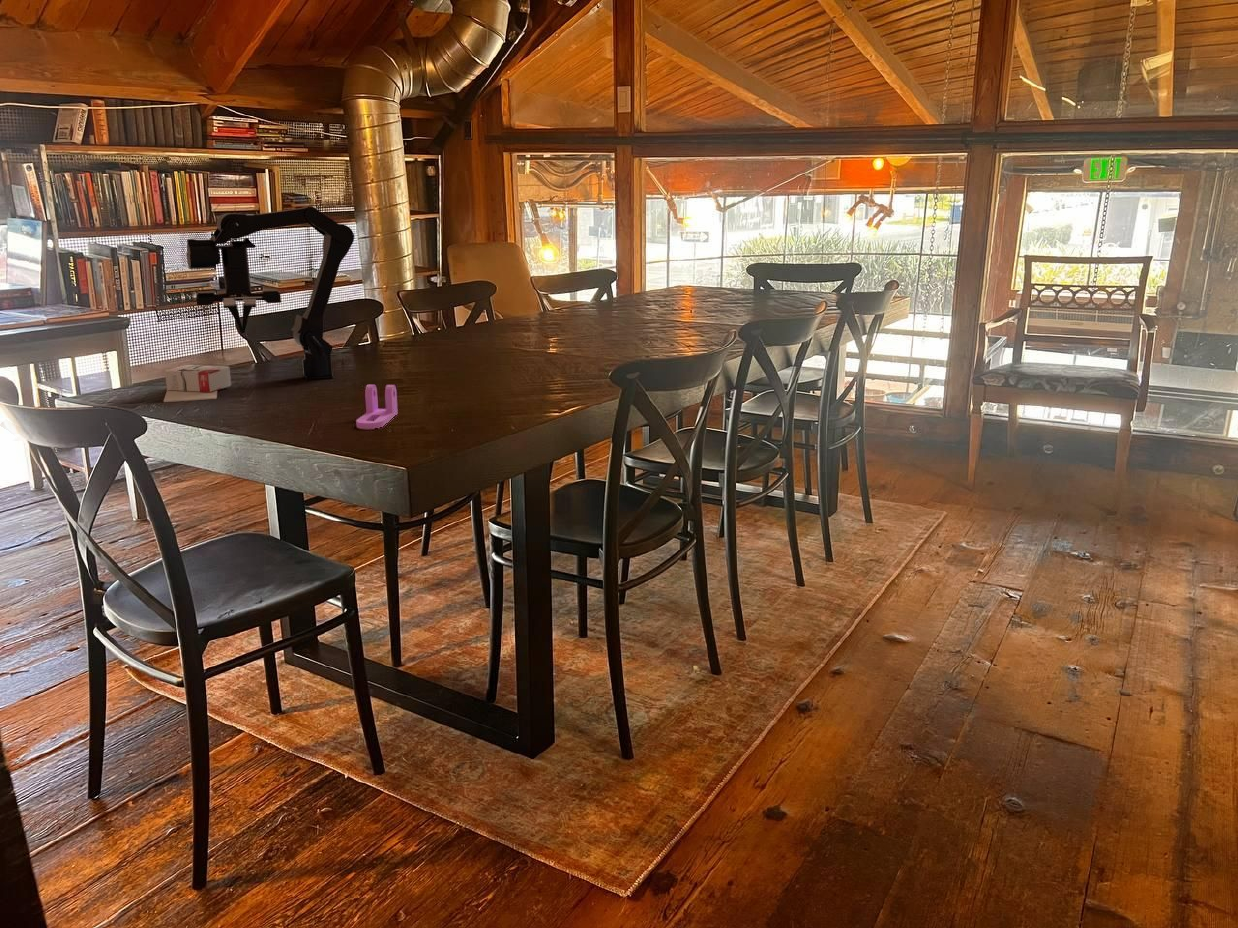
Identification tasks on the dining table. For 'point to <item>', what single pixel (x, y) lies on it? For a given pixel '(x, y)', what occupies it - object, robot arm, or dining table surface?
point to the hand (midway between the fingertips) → (242, 333)
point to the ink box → (198, 378)
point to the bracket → (372, 408)
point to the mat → (188, 395)
